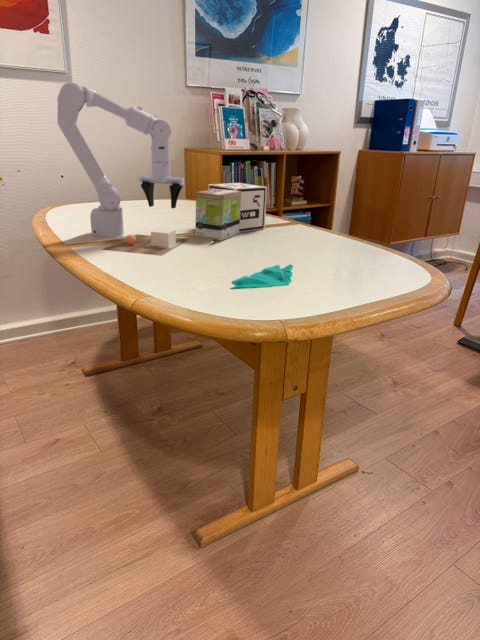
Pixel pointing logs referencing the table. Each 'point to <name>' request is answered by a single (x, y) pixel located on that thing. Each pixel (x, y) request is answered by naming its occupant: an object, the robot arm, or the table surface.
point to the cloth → (265, 278)
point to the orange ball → (130, 239)
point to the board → (143, 246)
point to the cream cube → (163, 237)
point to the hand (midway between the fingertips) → (162, 207)
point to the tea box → (218, 213)
